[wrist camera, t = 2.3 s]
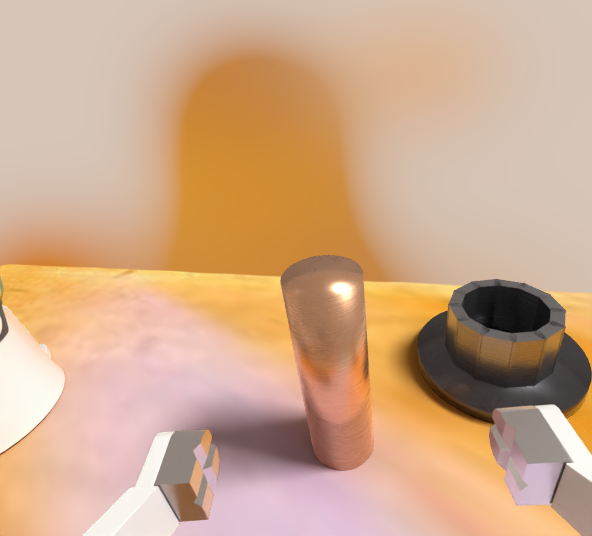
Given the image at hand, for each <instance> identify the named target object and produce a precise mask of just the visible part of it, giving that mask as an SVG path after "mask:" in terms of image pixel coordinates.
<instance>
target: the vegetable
mask: <svg viewBox="0 0 592 536" xmlns="http://www.w3.org/2000/svg"><path fill="white" fill-rule="evenodd" d="M2 295H3V283H2V280H1V277H0V298H1V297H2Z"/></svg>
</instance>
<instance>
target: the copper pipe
mask: <svg viewBox="0 0 592 536" xmlns="http://www.w3.org/2000/svg"><path fill="white" fill-rule="evenodd" d="M281 287H282V292H283V297H284V302H285V307H286V313H287V318H288V323H289V328H290V333H291V339H292V344H293V349H294V354H295V359H296V364H297V370H298V375H299V380H300V385H301V390H302V395H303V401H304V406H305V411H306V416H307V421H308V427H309V432H310V437H311V442H312V447H313V451H314V453H315V455H316V457H317V458H318V459H319V460H320V461H321V462H322V463H323V464H324V465H326V466H328V467H330V468H332V469H336V470H350V469H354V468H356V467H358V466H360V465H362V464H363V463H364V462H365V461H366V460H367V459H368V458H369V456H370V455H371V452H372V450H373V427H372V411H371V395H370V379H369V363H368V347H367V331H366V315H365V299H364V283H363V271H362V268H361V267H360V265H359V264H357V263H356V262H355V261H353V260H351V259H348V258H345V257H341V256H334V255H323V256H315V257H310V258H307V259H304V260H301V261H299V262H297V263H295V264H293V265H291V266H290V267H289V268H287V269H286V270H285V272H284V273H283V275H282V277H281Z"/></svg>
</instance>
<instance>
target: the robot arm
mask: <svg viewBox="0 0 592 536" xmlns="http://www.w3.org/2000/svg"><path fill="white" fill-rule="evenodd" d="M64 383H65V376H64V372H63V370H62V369H61V368H60V367H59V366H58V365H57V364H56V363H55V362H53V361H52V360H51V351H50V350H49V348H48V347H47V346H46V345H45V344H38V343H37V342H36V340H35V339H34V338H33V337H32V336H31V334H30V333H29V332H28V331H27V330H26V328H25V327H24V326H23V325H22V324H21V322H20V321H19V320H18V319H17V318H16V316H15V315H14V314H13V313H12V312H11V311H10V310H9V309H8V308H7V307H6V306H3V305H2V300H1V298H0V453H2V452H3V451H5V450H6V449H8V448H9V447H11V446H12V445H14V444H15V443H16V442H18V441H19V440H20V439H22V438H23V437H24V436H25V435H27V434H28V433H29V432H30V431H31V430H32V429H33V428H34V427H36V426H37V425H38V424H39V423H40V422H41V421H42V420H43V418H44V417H45V416H46V415H47V414H48V413H49V411H50V410H51V409H52V408H53V406H54V405H55V403H56V402H57V400H58V398H59V397H60V395H61V393H62V390H63V387H64ZM492 418H493V420H494V423H495V424H494V425H493V426H492V427H491V428H490V434H489V438H490V445H491V448H492V452H493V455H494V457H495V459H496V462H497V464H499V465H500V466H501V467H502V468H504V469H505V470H506V475H505V482H506V484H507V486H508V488H509V491H510V493H511V495H512V497H513V499H514V502H515V504H516V505H551V507H552V508H553V509H554V510H555V511H556V512H557V513H558V514H559V515H561V516H562V517H563V518H564V519H565V520H566V521H567V522H568V523H569V524H570V525H571V526H572V527H573V528H574V529H575V530H577V531H578V532H579V533H580V534H581V535H582V536H592V455H591V454H590V452H589V451H588V450H587V448H586V447H585V445H584V444H583V442H582V441H581V439H580V438H579V437H578V435H577V434H576V432H575V431H574V429H573V428H572V426H571V425H570V424H569V422H568V421H567V419H566V418H565V416H564V415H563V414H562V412H561V411H560V409H559V408H558V407H557V406H555V405H551V404H550V405H539V406H520V407H509V408H497V409H495V410H494V411H493V415H492ZM211 440H212V435H211V433H210V431H209V430H194V431H172V432H159V433H158V434H157V435H156V436H155V438H154V440H153V442H152V445H151V447H150V450H149V453H148V455H147V458H146V460H145V463H144V465H143V468H142V470H141V473H140V475H139V478H138V480H137V483H136V485H135V487H131V488H129V489H128V490H127V491H126V492H125V493H124V494H123V495H122V496H121V497H120V498H119V499H118V500H117V501H116V502H115V503H114V504H113V505H112V506H111V507H110V508H109V509H108V510H107V511H106V512H105V513H104V514H103V515H102V516H101V517H100V518H99V519H98V520H97V521H96V522H95V523H94V524H93V525H92V526H91V527H90V528H89V529H88V530H87V531H86V532H85V533H84V534H83V535H82V536H171V535H172V534H173V533H174V531H175V530H176V528H177V527H178V526H179V524H180V523H179V522H182V521H195V520H208V519H209V514H210V510H211V505H212V500H213V496H214V495H213V492H212V490H211V488H210V487H211V486H212V485H213V484H214V482H215V481H216V480H217V477H218V472H219V453H218V450H217V447H216V446H215V445H214V444H212V443H211Z"/></svg>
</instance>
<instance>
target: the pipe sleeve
mask: <svg viewBox="0 0 592 536" xmlns="http://www.w3.org/2000/svg"><path fill="white" fill-rule="evenodd" d="M565 313H566V310H565V309H564V308H563V307H562V306H561V305H560V304H559V303H558V302H557V301H556V300H555V299H554V298H553V297H552V296H551V295H550V294H548V293H545V292H543V291H541V290H538V289H536V288H534V287H532V286H529V285H527V284H525V283H518V282H511V281H505V280H499V279H493V280H484V281H474V282H470V283H468V284H466V285H464V286H462V287H460V288H458V289H457V290H454V292H453V295H452V298H451V300H450V302H449V304H448V311H445V312H443V313H440V314H438V315H437V316H435V317H434V318H432V319H431V320H430V321H429V322H427V324H426V325H425V326H424V327H423V329H422V330H421V332H420V335H419V338H418V350H417V358H418V365H419V369H420V371H421V373H422V375H423V377H424V379H425V380H426V382H427V383H428V385H429V386H430V387H431V388H432V389H433V391H434V392H436V393H437V394H438V395H439V396H440V397H441V398H442V399H444V400H445V401H446V402H448V403H449V404H450V405H452V406H454V407H455V408H457V409H458V410H460V411H462V412H464V413H466V414H468V415H470V416H473V417H476V418H478V419H481V420H484V421H487V422H491V423H494V420H493V418H492V415H493V411H494V410H495V409H497V408H509V407H520V406H539V405H550V404H551V405H555V406H557V407H558V408H559V409H560V411H561V412H562V414H563V415H564V416H565V418H566V419H567V418H568V417H570V416H571V415H573V414H574V413H575V412H576V411H577V410H578V409H579V408H580V407H581V405H582V404H583V402H584V400H585V398H586V395H587V392H588V389H589V386H590V383H591V376H592V372H591V366H590V363H589V361H588V358H587V356H586V355H585V353H584V351H583V350H582V349H581V348H580V346H579V345H578V344H577V343H576V342H575V341H574V340H573V339H572V338H571V337H570V336H569V335H567V334H566V333H565V332H564V331H565V328H566V327H565ZM494 424H495V423H494Z"/></svg>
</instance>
